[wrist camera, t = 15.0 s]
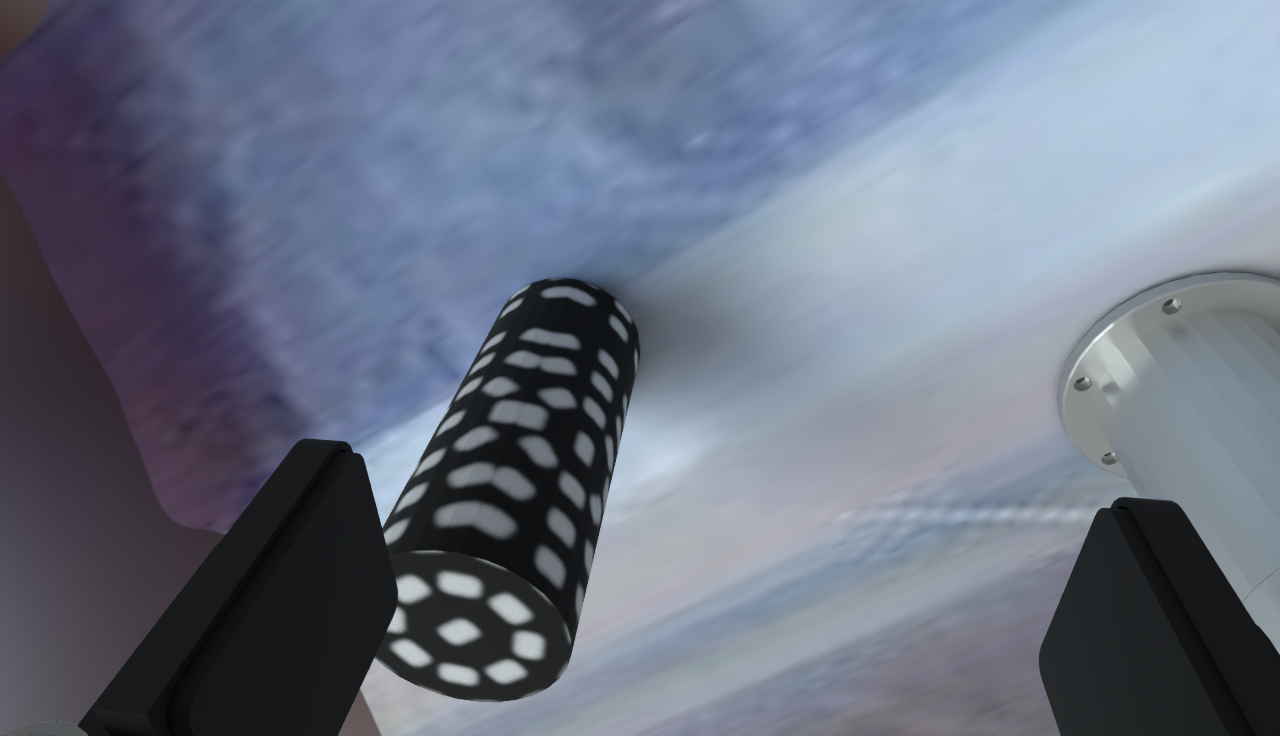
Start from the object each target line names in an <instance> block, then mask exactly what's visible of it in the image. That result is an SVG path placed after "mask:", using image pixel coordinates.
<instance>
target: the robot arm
mask: <svg viewBox="0 0 1280 736" xmlns="http://www.w3.org/2000/svg"><path fill="white" fill-rule="evenodd" d="M1057 399H1058V409H1059V415H1060V418H1061V421H1062V423H1063V426H1064V428H1065V431H1066V432H1067V434H1068V436H1069V437H1070V439H1071V441H1072V443H1073V444H1074V446H1075V447H1076V448H1077V449H1078V450H1079V451H1080V452H1081V453H1082V455H1083V456H1084V457H1085V458H1086V459H1088V460H1089V461H1090V462H1092V463H1093V464H1095V465H1096V466H1098V467H1099V468H1101V469H1103V470H1106V471H1108V472H1111V473H1113V474H1116V475H1118V476H1120V477H1125V478H1129V479H1130V481H1131V483H1132V484H1133V486H1134V488H1135V490H1136V491H1137V493H1138V495H1139V496H1140V498H1129V497H1121V498H1118V499H1117V500H1115V501H1114V502H1113V504H1112V506H1111V508H1101V509H1100V510H1099V511H1098V512H1097V514H1096V515H1095V518H1094V520H1093V522H1092V525H1091V527H1090V530H1089V532H1088V534H1087V537H1086V539H1085V542H1084V544H1083V546H1082V549H1081V551H1080V554H1079V556H1078V559H1077V561H1076V563H1075V566H1074V568H1073V571H1072V573H1071V575H1070V578H1069V580H1068V583H1067V585H1066V587H1065V590H1064V592H1063V595H1062V597H1061V600H1060V602H1059V604H1058V607H1057V609H1056V612H1055V614H1054V616H1053V619H1052V621H1051V624H1050V626H1049V628H1048V631H1047V633H1046V636H1045V638H1044V641H1043V643H1042V645H1041V649H1040V654H1039V668H1040V674H1041V678H1042V681H1043V684H1044V687H1045V690H1046V693H1047V696H1048V699H1049V702H1050V705H1051V708H1052V711H1053V714H1054V717H1055V720H1056V723H1057V725H1058V728H1059V731H1060V734H1061V736H1280V281H1279V280H1276V279H1274V278H1269V277H1264V276H1260V275H1255V274H1251V273H1229V272H1221V273H1212V274H1203V275H1195V276H1191V277H1187V278H1183V279H1179V280H1175V281H1172V282H1168V283H1165V284H1163V285H1160V286H1158V287H1155V288H1153V289H1150V290H1148V291H1146V292H1143V293H1141V294H1139V295H1137V296H1136V297H1134V298H1132V299H1130V300H1129V301H1127V302H1125V303H1123V304H1122V305H1120V306H1118V307H1117V308H1115V309H1114V310H1113V311H1112V312H1110V313H1109V314H1108V315H1106V316H1105V317H1104V318H1103V319H1101V320H1100V321H1099V322H1097V323H1096V324H1095V325H1094V326H1093V328H1092V329H1091V330H1090V331H1089V332H1088V333H1087V334H1086V335H1085V336H1084V337H1083V338H1082V339H1081V340H1080V342H1079V343H1078V345H1077V346H1076V348H1075V349H1074V351H1073V352H1072V354H1071V355H1070V357H1069V358H1068V360H1067V363H1066V365H1065V368H1064V370H1063V373H1062V375H1061V378H1060V382H1059V389H1058V395H1057ZM397 603H398V587H397V583H396V579H395V575H394V572H393V568H392V564H391V560H390V556H389V553H388V549H387V545H386V541H385V537H384V534H383V530H382V526H381V522H380V519H379V515H378V511H377V507H376V503H375V500H374V496H373V492H372V488H371V484H370V481H369V477H368V473H367V469H366V465H365V462H364V459H363V457H362V456H361V455H360V454H358V453H353V451H352V448H351V446H350V445H349V444H348V443H347V442H344V441H332V440H318V439H302V440H300V441H298V442H297V443H296V444H295V445H294V447H293V448H292V449H291V450H290V452H289V453H288V454H287V456H286V457H285V458H284V460H283V461H282V462H281V463H280V465H279V466H278V467H277V469H276V470H275V471H274V473H273V474H272V475H271V477H270V478H269V479H268V480H267V482H266V483H265V484H264V486H263V487H262V488H261V490H260V491H259V492H258V493H257V495H256V496H255V497H254V499H253V500H252V501H251V503H250V504H249V505H248V506H247V508H246V509H245V510H244V512H243V513H242V514H241V516H240V517H239V518H238V519H237V521H236V522H235V523H234V525H233V526H232V527H231V529H230V530H229V531H228V533H227V534H226V535H225V537H224V538H223V539H222V540H221V541H220V542H219V543H218V544H217V546H215V548H214V549H213V550H212V551H211V553H210V554H209V555H208V557H207V558H206V559H205V561H204V562H203V563H202V564H201V566H200V567H199V568H198V570H197V571H196V572H195V574H194V575H193V576H192V578H191V579H190V580H189V581H188V583H187V584H186V585H185V586H184V588H183V589H182V591H181V592H180V593H179V594H178V596H177V597H176V598H175V599H174V601H173V602H172V603H171V605H170V606H169V607H168V609H167V610H166V611H165V613H164V614H163V615H162V616H161V618H160V619H159V620H158V622H157V623H156V624H155V625H154V627H153V628H152V630H151V631H150V632H149V633H148V635H147V636H146V637H145V638H144V640H143V641H142V642H141V644H140V645H139V646H138V648H137V649H136V650H135V651H134V653H133V654H132V655H131V657H130V658H129V659H128V661H127V662H126V663H125V665H124V666H123V667H122V668H121V670H120V671H119V672H118V674H117V675H116V676H115V678H114V679H113V680H112V681H111V683H110V684H109V685H108V687H107V688H106V689H105V690H104V692H103V693H102V694H101V696H100V697H99V698H98V699H97V701H96V702H95V703H94V705H93V706H92V707H91V709H90V710H89V711H88V712H87V714H86V715H85V716H84V718H83V719H82V720H81V722H80V723H79V724H78V725H75V724H72V723H67V722H63V721H58V720H56V721H45V722H35V723H32V724H29V725H26V726H23V727H20V728H17V729H14V730H11V731H8V732H7V733H5V734H3V735H1V736H338V734H339V731H340V729H341V727H342V725H343V723H344V721H345V719H346V717H347V715H348V712H349V710H350V708H351V706H352V704H353V702H354V700H355V697H356V695H357V693H358V691H359V689H360V687H361V685H362V683H363V681H364V678H365V676H366V674H367V672H368V670H369V668H370V666H371V664H372V661H373V659H374V657H375V655H376V653H377V651H378V649H379V647H380V644H381V642H382V640H383V638H384V636H385V634H386V632H387V630H388V627H389V625H390V623H391V621H392V619H393V617H394V614H395V612H396V608H397Z"/></svg>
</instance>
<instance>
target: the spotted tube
mask: <svg viewBox="0 0 1280 736" xmlns="http://www.w3.org/2000/svg"><path fill="white" fill-rule="evenodd" d="M639 358H640V341H639V335H638V331H637V329H636V327H635V324H634V322H633V320H632V318H631V317H630V315H629V314H628V312H627V311H626V309H625V308H624V307H623V306H622V305H621V304H620V303H619V302H618V301H617V300H616V299H615V298H613V297H612V296H611V295H609V294H608V293H606V292H605V291H603V290H602V289H600V288H597V287H595V286H593V285H591V284H589V283H585V282H581V281H578V280H573V279H563V278H556V279H545V280H542V281H538V282H535V283H531V284H530V285H528V286H526V287H524V288H522V289H520V290H519V291H518V292H517V293H515V294H514V295H513V296H512V297H511V298H510V299H509V300H508V302H507V303H506V304H505V306H504V307H503V309H502V310H501V312H500V314H499V316H498V318H497V320H496V321H495V323H494V325H493V327H492V329H491V331H490V332H489V334H488V336H487V338H486V340H485V342H484V343H483V345H482V347H481V349H480V351H479V352H478V354H477V356H476V358H475V360H474V362H473V363H472V365H471V367H470V369H469V371H468V373H467V374H466V376H465V378H464V380H463V382H462V384H461V385H460V387H459V389H458V391H457V393H456V395H455V396H454V398H453V400H452V402H451V404H450V406H449V407H448V409H447V411H446V413H445V415H444V417H443V418H442V420H441V422H440V424H439V426H438V427H437V429H436V431H435V433H434V435H433V437H432V438H431V440H430V442H429V444H428V446H427V448H426V449H425V451H424V453H423V455H422V457H421V459H420V460H419V462H418V464H417V466H416V468H415V470H414V471H413V473H412V475H411V477H410V479H409V481H408V482H407V484H406V486H405V488H404V490H403V491H402V493H401V495H400V497H399V499H398V501H397V502H396V504H395V506H394V508H393V510H392V512H391V513H390V515H389V517H388V519H387V521H386V523H385V524H384V526H383V528H382V530H383V534H384V537H385V541H386V545H387V549H388V553H389V556H390V560H391V564H392V568H393V572H394V575H395V579H396V583H397V587H398V603H397V608H396V612H395V614H394V617H393V619H392V621H391V623H390V625H389V627H388V630H387V632H386V634H385V636H384V638H383V640H382V642H381V644H380V647H379V649H378V651H377V653H376V655H375V657H374V658H376V659H377V660H378V661H379V662H380V663H381V664H382V665H383V666H385V667H386V668H388V669H389V670H391V671H392V672H394V673H395V674H396V675H398V676H399V677H401V678H403V679H405V680H407V681H409V682H411V683H413V684H415V685H417V686H419V687H422V688H424V689H427V690H430V691H432V692H435V693H437V694H441V695H445V696H449V697H453V698H457V699H463V700H470V701H478V702H501V701H510V700H517V699H521V698H525V697H528V696H532V695H534V694H536V693H539V692H541V691H543V690H545V689H547V688H548V687H550V686H551V685H552V684H553V683H554V682H556V681H557V680H558V679H559V678H560V677H561V675H562V674H563V673H564V671H565V670H566V668H567V667H568V663H569V660H570V657H571V654H572V649H573V645H574V641H575V636H576V632H577V627H578V623H579V619H580V614H581V610H582V606H583V601H584V597H585V593H586V588H587V584H588V580H589V575H590V571H591V567H592V562H593V558H594V553H595V549H596V545H597V540H598V536H599V532H600V527H601V523H602V519H603V514H604V510H605V506H606V501H607V497H608V493H609V488H610V484H611V479H612V475H613V471H614V466H615V462H616V458H617V453H618V449H619V445H620V440H621V436H622V432H623V427H624V423H625V419H626V414H627V410H628V405H629V401H630V397H631V392H632V388H633V384H634V379H635V375H636V371H637V366H638V362H639Z"/></svg>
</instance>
